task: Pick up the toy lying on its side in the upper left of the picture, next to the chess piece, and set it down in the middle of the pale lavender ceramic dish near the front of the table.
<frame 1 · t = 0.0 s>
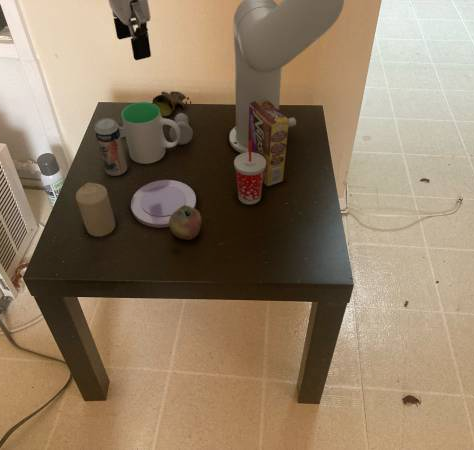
hand: (133, 47, 93), 24 cm above the table, tool pointing down, fingers open, 9 cm apart
candle: (101, 227, 93), on the table
toy: (159, 106, 118), point 3 cm above the table
chess piece: (181, 135, 109), point 3 cm above the table
mug: (156, 153, 109), on the table
dish: (164, 204, 97), on the table
business card: (120, 132, 115), on the table
beverage cup: (249, 197, 99), on the table
candy box: (265, 173, 104), on the table
canister with white lid: (116, 170, 105), on the table
apple: (186, 236, 92), on the table
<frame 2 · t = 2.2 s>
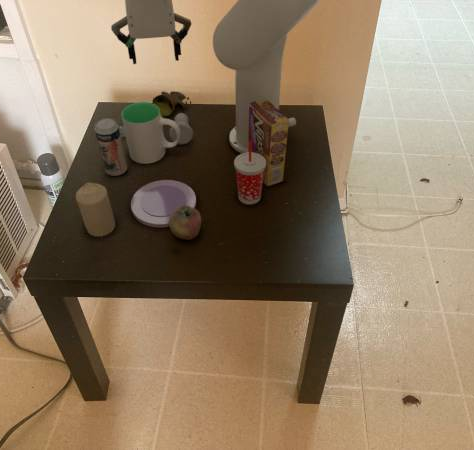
hand: (155, 59, 111), 14 cm above the table, tool pointing down, fingers open, 9 cm apart
nothing on the table moved.
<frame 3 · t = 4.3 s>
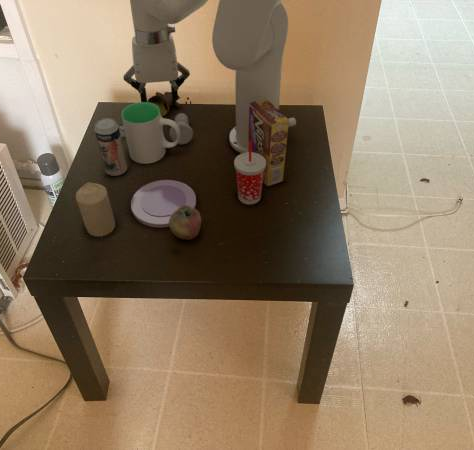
hand: (160, 102, 120), 2 cm above the table, tool pointing down, fingers closed on toy, 6 cm apart
toy: (154, 106, 118), point 3 cm above the table, touching gripper
everything else where it was.
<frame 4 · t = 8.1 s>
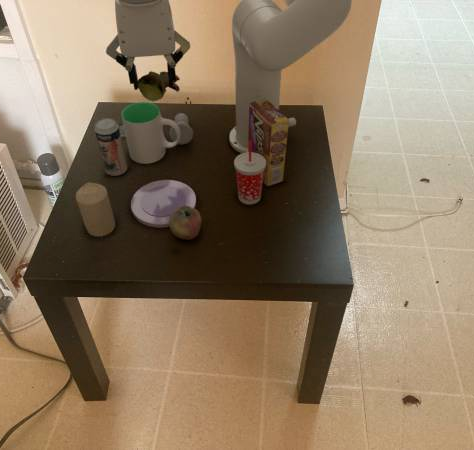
hand: (153, 84, 95), 18 cm above the table, tool pointing down, fingers closed on toy, 6 cm apart
toy: (146, 88, 93), point 19 cm above the table, touching gripper
everything else where it was.
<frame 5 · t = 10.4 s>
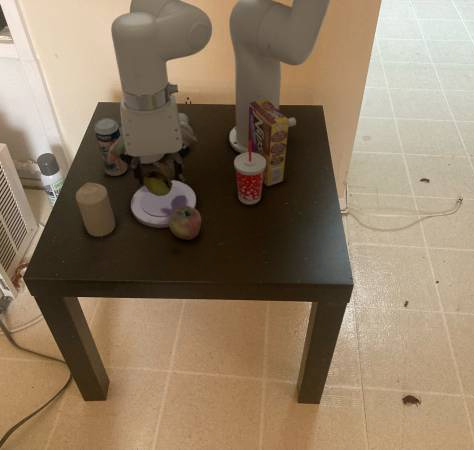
hand: (159, 177, 92), 7 cm above the table, tool pointing down, fingers closed on toy, 6 cm apart
toy: (152, 184, 90), point 8 cm above the table, touching gripper
everything else where it was.
when the fingers open (3 cm above the table, at t = 12.1 s): toy stays where it is, resting on dish.
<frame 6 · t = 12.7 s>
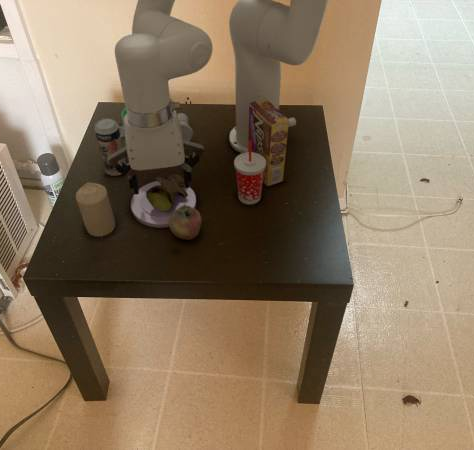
hand: (161, 186, 94), 5 cm above the table, tool pointing down, fingers open, 9 cm apart
toy: (155, 200, 92), point 4 cm above the table, touching dish
everything else where it was.
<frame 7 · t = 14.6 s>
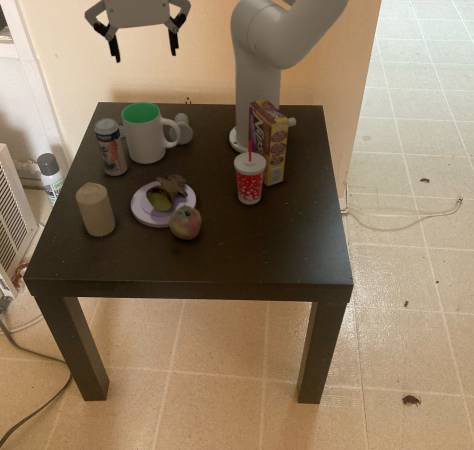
hand: (146, 55, 85), 27 cm above the table, tool pointing down, fingers open, 9 cm apart
nothing on the table moved.
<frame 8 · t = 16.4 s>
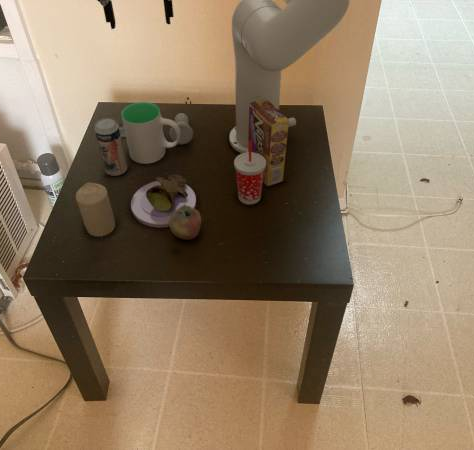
hand: (140, 23, 86), 30 cm above the table, tool pointing down, fingers open, 9 cm apart
nothing on the table moved.
at the end: toy inside the target area on the dish (1.5 cm from its centre), point 4.0 cm above the dish's base; the gripper is holding nothing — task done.
